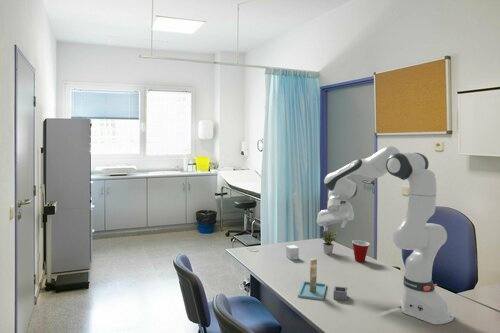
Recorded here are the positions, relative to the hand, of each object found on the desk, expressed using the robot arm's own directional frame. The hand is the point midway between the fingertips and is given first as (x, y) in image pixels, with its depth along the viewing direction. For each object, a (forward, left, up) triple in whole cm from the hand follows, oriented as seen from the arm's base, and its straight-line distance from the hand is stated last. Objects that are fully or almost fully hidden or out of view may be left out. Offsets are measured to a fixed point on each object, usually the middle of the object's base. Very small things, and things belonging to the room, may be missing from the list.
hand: (334, 229), depth 200 cm
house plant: (+40, -33, -30) cm, 60 cm away
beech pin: (-4, +16, -29) cm, 33 cm away
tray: (-4, +16, -30) cm, 34 cm away
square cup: (-16, +9, -30) cm, 35 cm away
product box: (+45, -7, -30) cm, 55 cm away
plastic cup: (+20, -41, -30) cm, 55 cm away
